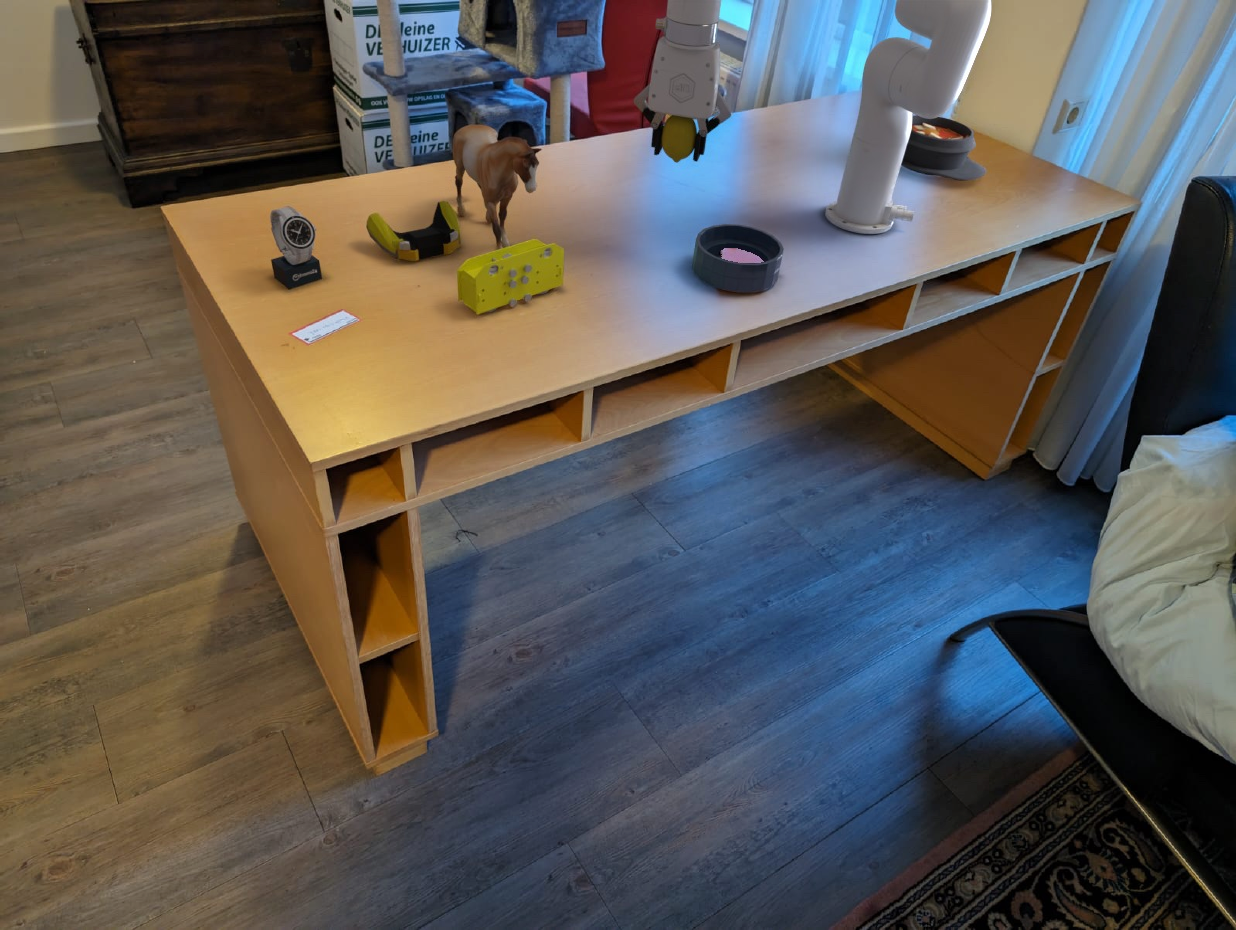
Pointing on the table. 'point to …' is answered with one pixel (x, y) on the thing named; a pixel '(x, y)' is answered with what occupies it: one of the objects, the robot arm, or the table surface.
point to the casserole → (941, 149)
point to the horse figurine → (493, 170)
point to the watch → (294, 248)
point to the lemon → (678, 137)
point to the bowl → (734, 273)
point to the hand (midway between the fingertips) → (677, 154)
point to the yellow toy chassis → (510, 275)
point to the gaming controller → (418, 236)
